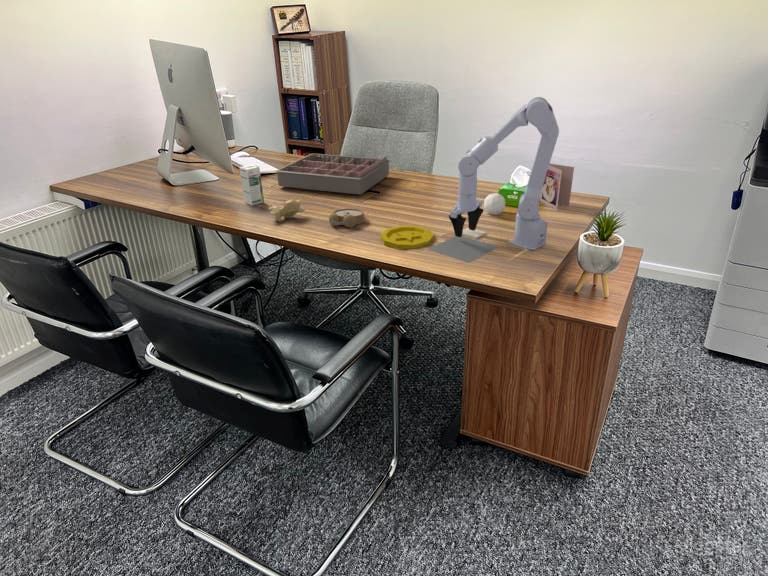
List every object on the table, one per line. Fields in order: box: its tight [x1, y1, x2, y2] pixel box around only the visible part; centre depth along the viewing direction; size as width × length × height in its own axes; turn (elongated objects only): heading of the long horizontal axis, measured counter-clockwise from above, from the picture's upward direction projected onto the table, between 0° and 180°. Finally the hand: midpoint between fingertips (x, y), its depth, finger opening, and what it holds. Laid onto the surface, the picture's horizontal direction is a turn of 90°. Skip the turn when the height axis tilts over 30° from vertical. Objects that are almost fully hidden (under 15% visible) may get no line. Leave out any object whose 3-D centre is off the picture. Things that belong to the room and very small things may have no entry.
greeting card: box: [539, 163, 575, 211], centre depth 209 cm, size 11×7×15 cm, turn 18°
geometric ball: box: [483, 192, 506, 216], centre depth 203 cm, size 8×8×8 cm
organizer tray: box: [274, 153, 392, 196], centre depth 243 cm, size 32×40×10 cm
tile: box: [462, 226, 487, 240], centre depth 187 cm, size 7×2×6 cm
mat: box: [427, 235, 499, 264], centre depth 176 cm, size 16×16×1 cm
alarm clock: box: [328, 207, 365, 229], centre depth 199 cm, size 11×5×15 cm
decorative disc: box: [380, 225, 435, 250], centre depth 184 cm, size 17×18×2 cm
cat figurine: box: [268, 198, 306, 223], centre depth 204 cm, size 8×7×12 cm
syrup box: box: [239, 164, 265, 206], centre depth 220 cm, size 6×6×14 cm
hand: (465, 232), depth 184 cm, fingers open, 7 cm apart
